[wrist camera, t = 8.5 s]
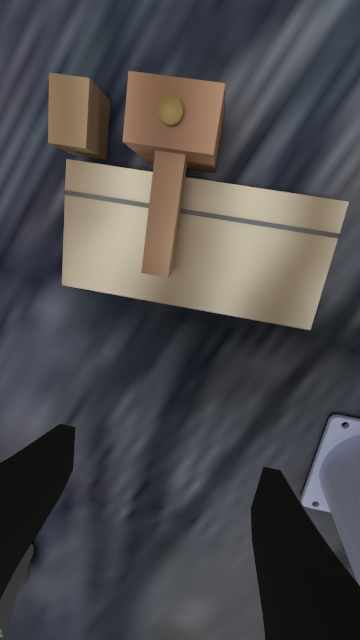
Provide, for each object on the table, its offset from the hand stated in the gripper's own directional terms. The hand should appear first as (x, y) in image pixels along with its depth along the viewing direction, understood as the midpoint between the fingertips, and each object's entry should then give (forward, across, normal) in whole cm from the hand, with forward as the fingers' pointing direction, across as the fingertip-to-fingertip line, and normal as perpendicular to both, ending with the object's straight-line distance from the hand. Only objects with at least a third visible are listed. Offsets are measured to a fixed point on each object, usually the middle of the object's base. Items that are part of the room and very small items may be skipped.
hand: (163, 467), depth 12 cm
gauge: (+10, +2, -10) cm, 15 cm away
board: (+10, +1, -7) cm, 13 cm away
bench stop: (+10, +8, -13) cm, 18 cm away
